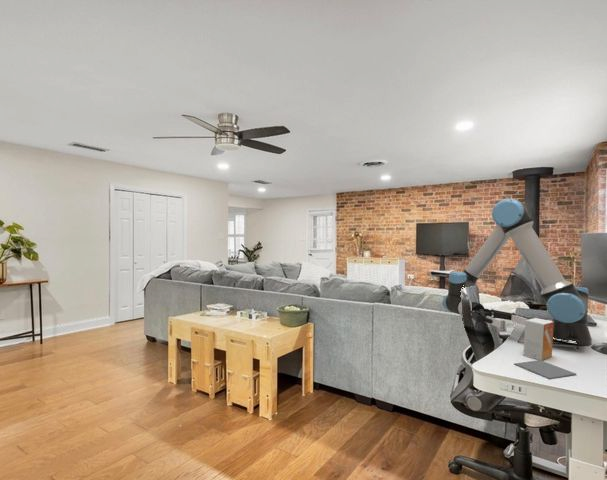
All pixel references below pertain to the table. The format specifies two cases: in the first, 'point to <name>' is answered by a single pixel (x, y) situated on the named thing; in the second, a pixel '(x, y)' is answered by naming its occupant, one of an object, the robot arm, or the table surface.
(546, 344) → the small box
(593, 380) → the table surface
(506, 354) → the table surface
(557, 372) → the slate mat
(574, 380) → the table surface
